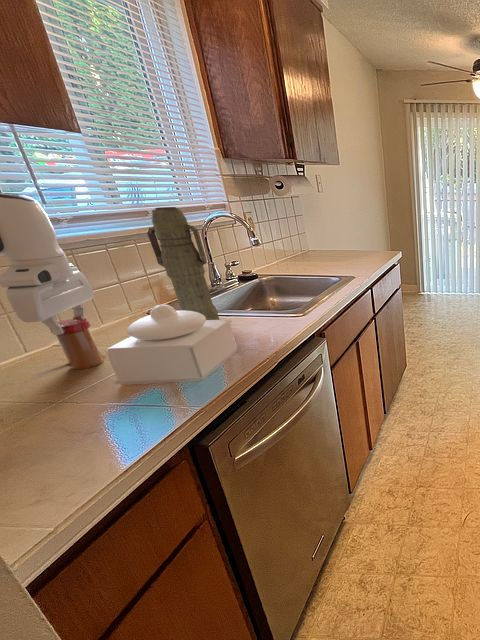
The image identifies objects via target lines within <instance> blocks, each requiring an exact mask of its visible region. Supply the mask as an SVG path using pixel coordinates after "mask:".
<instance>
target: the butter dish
mask: <svg viewBox="0 0 480 640" xmlns="http://www.w3.org/2000/svg"><path fill="white" fill-rule="evenodd" d="M149 313H150V314H149V315H146V316H143V317H140V318H138V319H137V320H135V321H133V322H132V323H130V325H129V326H128V327H127V329H126V332H127V334H128V336H129V337H127V338H125V339H123V340H121V341H119V342H117V343H115V344H113V345H111V346H109V347H108V348H106V349H107V350H106V351H105V354H106V355H107V357H108V360H109V362H110V365H111V367H112V369H113V371H114V374H115V376H116V379H117V380H118V383H119V384H120V385H121V386H124V385H125V386H127V385H147V384H165V383H166V384H168V383H180V382H181V383H186V382H188V383H189V382H203V381H204V380H206V379H207V378H208V377H209V376H210V375H211V374H213V373H214V372H215V371H216V370H217V369H218V368H220V367H221V366H222V365H223V364H225V362H227V361H228V360H229V359H230V358H231V357H233V356H234V355H235V354H236V353H238V352H239V349H238V345H237V342H236V339H235V336H234V332H233V328H232V325H231V323H232V319H231V318H228V319H227V318H225V319H220V320H206V317H205V316H204V315H202V314H201V313H198V312H194V311H184V310H181V309H179V310H176V309H175V308H174V307H173V306H171V305H169V304H167V303H166V304H165V303H164V304H163V303H160V304H157V305H155V306H153V307H152V309H150V312H149Z"/></svg>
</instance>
